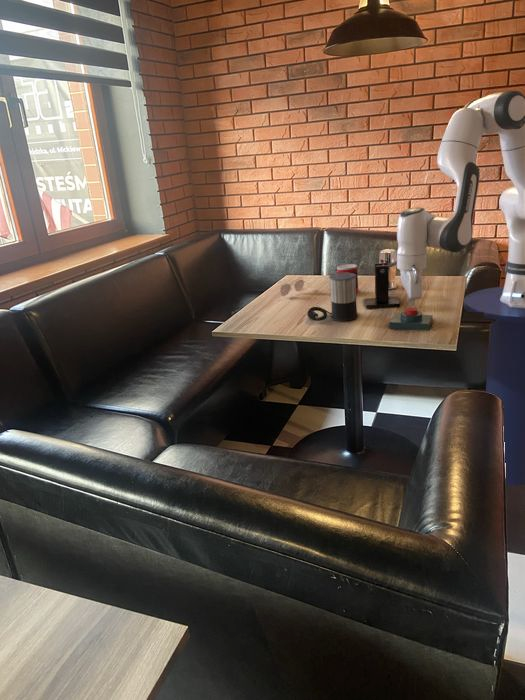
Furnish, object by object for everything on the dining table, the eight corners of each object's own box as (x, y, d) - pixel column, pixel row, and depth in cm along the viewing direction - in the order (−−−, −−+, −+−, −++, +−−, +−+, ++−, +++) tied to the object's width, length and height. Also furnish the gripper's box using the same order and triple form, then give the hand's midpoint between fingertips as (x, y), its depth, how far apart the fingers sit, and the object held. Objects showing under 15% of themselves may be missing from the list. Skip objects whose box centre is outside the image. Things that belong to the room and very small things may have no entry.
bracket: (397, 299, 201) (397, 260, 196) (400, 306, 193) (400, 266, 187) (364, 301, 202) (363, 262, 197) (366, 308, 194) (365, 268, 189)
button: (418, 312, 172) (418, 307, 172) (416, 316, 169) (416, 311, 169) (406, 312, 174) (406, 307, 173) (404, 315, 171) (404, 310, 170)
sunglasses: (304, 289, 227) (304, 278, 224) (317, 295, 221) (318, 284, 219) (278, 297, 219) (278, 285, 217) (292, 303, 213) (292, 291, 211)
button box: (432, 321, 174) (432, 309, 173) (428, 330, 167) (428, 318, 165) (395, 319, 179) (395, 308, 178) (389, 328, 172) (389, 316, 170)
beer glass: (386, 284, 222) (385, 248, 217) (400, 286, 218) (400, 249, 212) (376, 288, 218) (375, 252, 213) (391, 290, 213) (390, 253, 208)
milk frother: (363, 316, 185) (362, 274, 180) (328, 327, 178) (325, 284, 173) (337, 309, 197) (335, 269, 192) (302, 319, 189) (299, 278, 184)
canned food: (339, 290, 220) (338, 264, 216) (359, 290, 218) (358, 263, 214) (336, 295, 213) (335, 268, 209) (357, 295, 211) (355, 268, 207)
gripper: (427, 269, 156) (426, 314, 161) (417, 255, 175) (416, 296, 180) (405, 270, 157) (405, 315, 161) (397, 256, 176) (397, 297, 180)
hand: (411, 305), depth 171 cm, fingers closed
